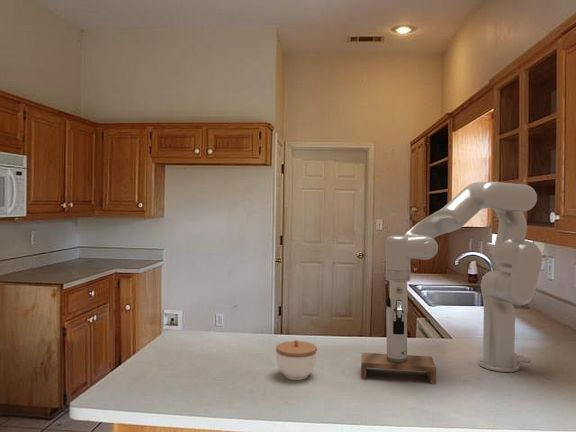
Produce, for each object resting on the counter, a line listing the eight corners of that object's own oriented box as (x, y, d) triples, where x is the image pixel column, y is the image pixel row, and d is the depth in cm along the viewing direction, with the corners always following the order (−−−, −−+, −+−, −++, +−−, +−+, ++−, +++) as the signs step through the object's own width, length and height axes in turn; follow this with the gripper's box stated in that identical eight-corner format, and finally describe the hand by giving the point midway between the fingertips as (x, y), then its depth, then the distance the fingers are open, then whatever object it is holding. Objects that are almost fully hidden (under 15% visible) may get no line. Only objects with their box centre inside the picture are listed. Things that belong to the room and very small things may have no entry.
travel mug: (408, 363, 139) (408, 297, 139) (386, 362, 140) (386, 297, 140) (407, 356, 145) (407, 294, 145) (386, 355, 147) (386, 293, 146)
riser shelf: (431, 372, 146) (431, 356, 146) (435, 383, 136) (436, 367, 136) (361, 367, 150) (361, 352, 150) (361, 378, 140) (361, 362, 140)
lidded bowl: (287, 386, 134) (287, 348, 133) (269, 372, 145) (269, 338, 145) (324, 379, 139) (324, 343, 139) (303, 366, 151) (304, 333, 150)
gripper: (413, 280, 133) (412, 338, 134) (407, 271, 150) (407, 323, 151) (386, 279, 134) (386, 337, 135) (384, 271, 152) (383, 322, 152)
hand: (397, 329), depth 143 cm, fingers open, 9 cm apart
